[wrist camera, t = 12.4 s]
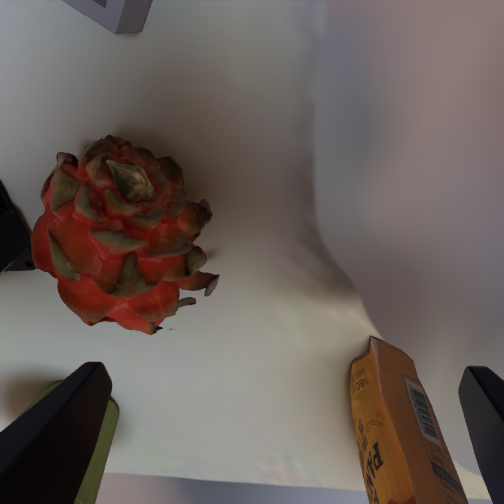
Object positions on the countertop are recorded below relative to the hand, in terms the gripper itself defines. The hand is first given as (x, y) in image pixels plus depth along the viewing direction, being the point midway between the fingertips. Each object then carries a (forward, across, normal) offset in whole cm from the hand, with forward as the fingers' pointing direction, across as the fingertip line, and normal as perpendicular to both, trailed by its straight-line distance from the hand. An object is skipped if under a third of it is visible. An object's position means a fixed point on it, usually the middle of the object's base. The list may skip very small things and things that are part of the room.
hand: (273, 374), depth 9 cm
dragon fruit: (+13, +8, +2) cm, 16 cm away
